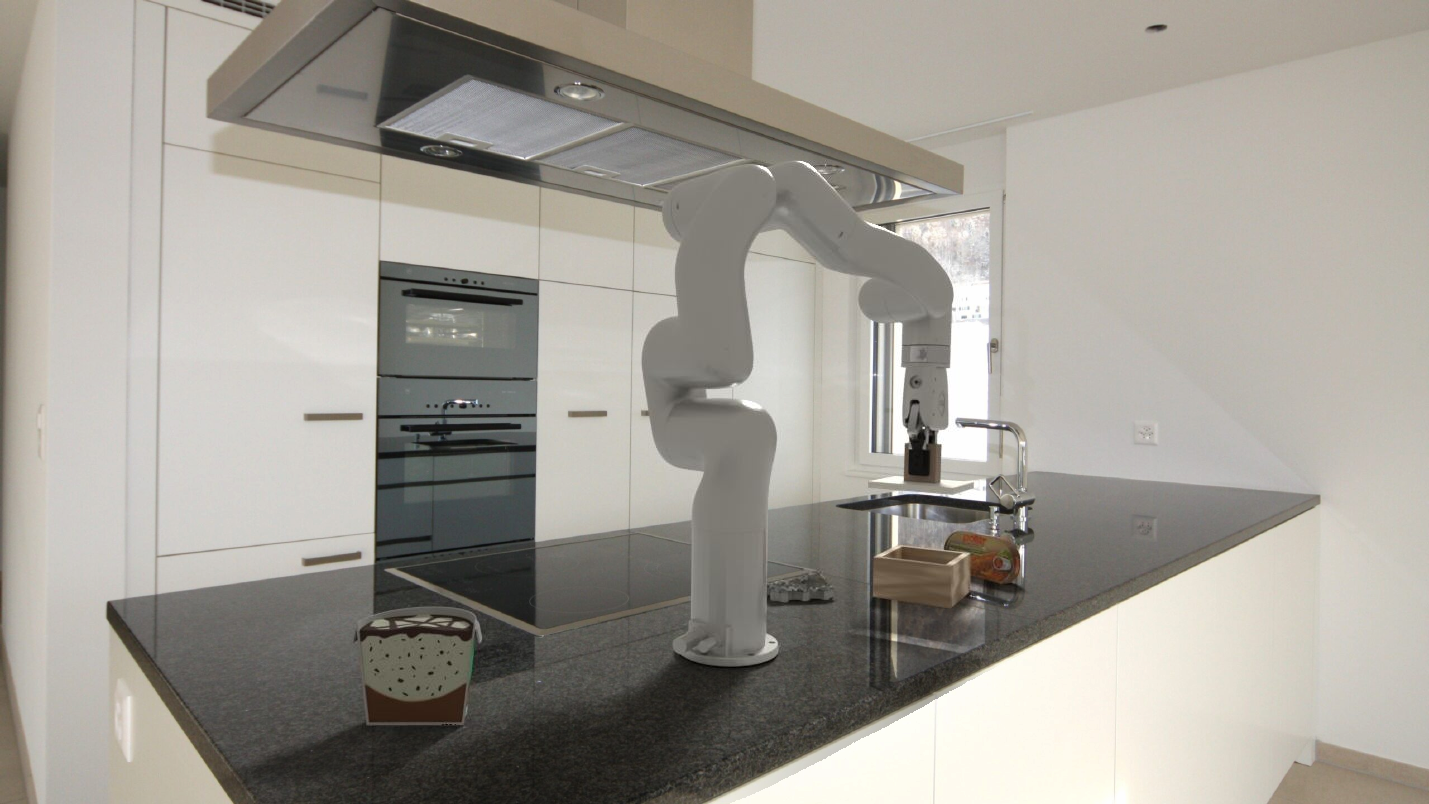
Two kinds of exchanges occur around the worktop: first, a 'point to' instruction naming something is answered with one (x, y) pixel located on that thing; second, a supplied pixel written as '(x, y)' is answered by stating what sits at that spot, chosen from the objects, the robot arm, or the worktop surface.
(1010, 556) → the tin
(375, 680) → the food container
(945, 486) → the lid
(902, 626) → the worktop surface
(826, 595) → the egg carton
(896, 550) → the box
